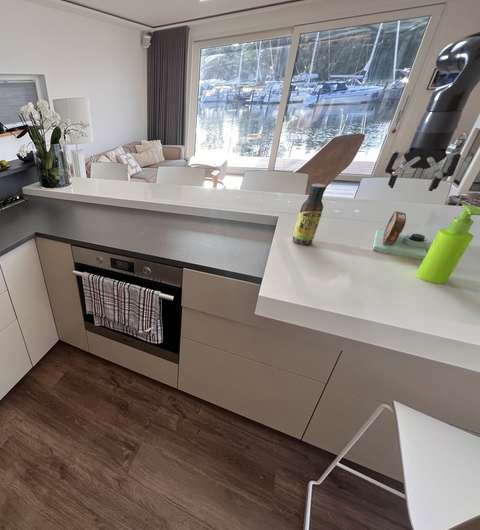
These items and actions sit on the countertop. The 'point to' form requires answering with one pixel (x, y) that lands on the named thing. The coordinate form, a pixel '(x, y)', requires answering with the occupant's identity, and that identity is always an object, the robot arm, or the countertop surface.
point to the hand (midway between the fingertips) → (410, 188)
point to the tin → (394, 228)
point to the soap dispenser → (448, 248)
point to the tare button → (417, 237)
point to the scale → (401, 245)
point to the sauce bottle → (309, 215)
